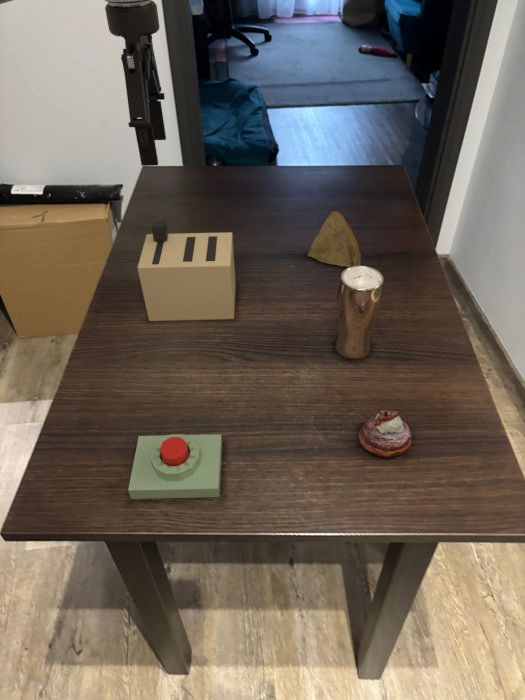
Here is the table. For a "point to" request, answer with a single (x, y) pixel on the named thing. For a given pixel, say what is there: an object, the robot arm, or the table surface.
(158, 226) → the button
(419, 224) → the table surface
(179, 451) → the red button
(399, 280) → the table surface
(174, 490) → the control block
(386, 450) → the pastry
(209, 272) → the toaster
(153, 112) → the robot arm
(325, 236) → the rock
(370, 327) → the beer glass
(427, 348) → the table surface
